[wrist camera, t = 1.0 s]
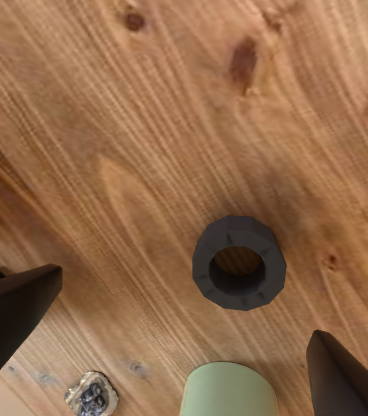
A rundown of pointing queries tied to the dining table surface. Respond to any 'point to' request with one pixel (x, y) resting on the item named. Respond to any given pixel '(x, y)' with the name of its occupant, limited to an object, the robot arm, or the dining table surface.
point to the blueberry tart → (92, 396)
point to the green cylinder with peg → (227, 392)
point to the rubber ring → (236, 284)
